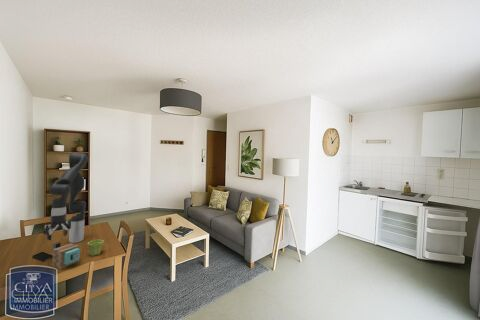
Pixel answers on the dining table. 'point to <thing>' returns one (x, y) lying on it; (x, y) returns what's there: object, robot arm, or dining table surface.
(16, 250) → the dining table surface
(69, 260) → the teal toy camera
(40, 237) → the dining table surface
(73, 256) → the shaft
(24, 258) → the dining table surface
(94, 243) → the plant pot
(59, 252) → the bearing block
